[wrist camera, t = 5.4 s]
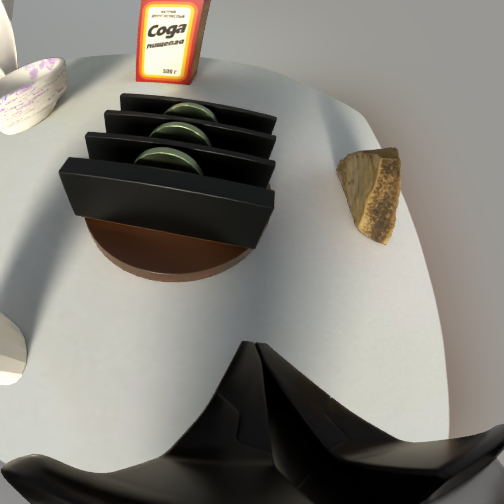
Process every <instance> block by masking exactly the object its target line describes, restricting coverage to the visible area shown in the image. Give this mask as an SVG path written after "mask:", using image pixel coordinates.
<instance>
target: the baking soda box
mask: <svg viewBox="0 0 504 504" xmlns="http://www.w3.org/2000/svg"><path fill="white" fill-rule="evenodd" d="M210 1H211V0H141V7H140V16H139V27H138V39H137V40H138V41H137V57H136V81H140V82H162V83H175V84H186V85H190V83H191V81H192V80H193V78H194V76H195V74H196V73H197V69H198V62H199V56H200V51H201V45H202V40H203V35H204V30H205V25H206V20H207V15H208V11H209V6H210Z"/></svg>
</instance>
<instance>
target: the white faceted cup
mask: <svg viewBox="0 0 504 504" xmlns="http://www.w3.org/2000/svg"><path fill="white" fill-rule="evenodd" d="M26 358H27V348H26V344H25V339H24V336H23V334H22V333H21V331H20V329H19V327H18V326H17V325H15V324H14V323H13V322H12V321H11V320H9V319H8V318H7V317H6V316H5V315H4V314H2V313H1V312H0V384H1V385H8V384H12V383H15V382H16V381H17V380H18V379H19V378H20V377H21V376H22V374H23V371H24V368H25V366H26Z"/></svg>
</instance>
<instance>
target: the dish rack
mask: <svg viewBox="0 0 504 504" xmlns="http://www.w3.org/2000/svg"><path fill="white" fill-rule="evenodd" d="M120 105H121V111H117V110H106V111H105V113H104V118H105V127H106V133H99V132H87V134H86V135H85V140H86V145H87V149H88V154H89V158H90V159H84V158H73V157H69V158H68V159H67V160H66V162H65V163H64V164H63V166H62V167H61V169H60V170H59V175H60V178H61V181H62V183H63V186H64V189H65V191H66V194H67V196H68V199H69V201H70V204H71V206H72V209H73V211H74V213H75V215H77V216H81V217H85V218H91V219H96V220H101V221H106V222H112V223H117V224H122V225H128V226H133V227H138V228H143V229H149V230H154V231H159V232H165V233H170V234H175V235H180V236H186V237H191V238H196V239H201V240H206V241H212V242H217V243H222V244H227V245H232V246H238V247H243V248H248V249H255V248H256V246H257V244H258V242H259V239H260V237H261V235H262V233H263V231H264V229H265V227H266V225H267V222H268V220H269V218H270V216H271V214H272V212H273V210H274V197H275V191H274V190H269V189H266V188H267V186H268V183H269V181H270V178H271V176H272V173H273V171H274V168H275V166H276V162H275V161H273V160H269V157H270V155H271V152H272V149H273V147H274V144H275V142H276V136H274V135H271V134H272V131H273V129H274V126H275V123H276V120H277V117H274V116H270V115H267V114H263V113H258V112H254V111H250V110H245V109H241V108H236V107H231V106H226V105H221V104H215V103H209V102H203V101H197V100H190V99H183V98H175V97H166V96H156V95H144V94H127V93H122V94H121V95H120Z"/></svg>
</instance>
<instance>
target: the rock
mask: <svg viewBox="0 0 504 504" xmlns="http://www.w3.org/2000/svg"><path fill="white" fill-rule="evenodd" d="M400 167H401V161H400V159H399V153H398V150H397V149H396V148H384V149H376V150H365V151H358V152H356V153H353V154H348V155H347V156H346V157H345V158H344V159H343V160H340V162H339V165H338V166H337V169H336V171H337V174H338V177H339V179H340V181H341V183H342V187H343V189H344V192H345V194H346V197H347V202H348V205H349V207H350V211H351V213H352V215H353V217H354V222H355V225H356V227H357V228H358V230H359V231H360V232H362V233H363V234H365V235H366V236H368V237H369V238H371V239H372V240H374V241H376V242H379V243H383V244H385V245H387V243H388V239H389V238H390V237H391V235H392V232H393V228H394V226H395V221H396V208H397V206H398V201H399V195H400V181H401V175H400Z"/></svg>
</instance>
